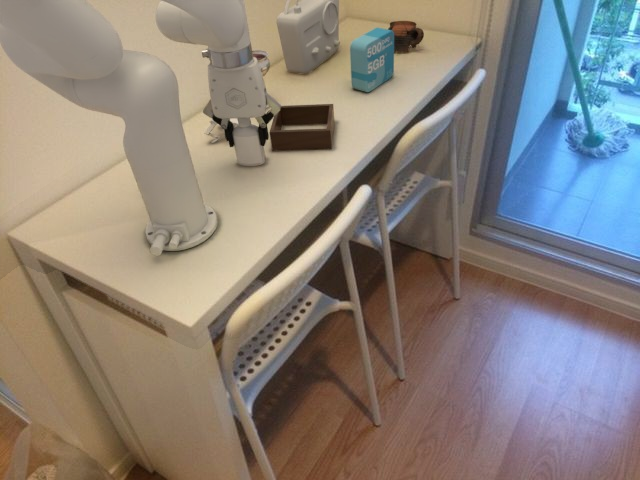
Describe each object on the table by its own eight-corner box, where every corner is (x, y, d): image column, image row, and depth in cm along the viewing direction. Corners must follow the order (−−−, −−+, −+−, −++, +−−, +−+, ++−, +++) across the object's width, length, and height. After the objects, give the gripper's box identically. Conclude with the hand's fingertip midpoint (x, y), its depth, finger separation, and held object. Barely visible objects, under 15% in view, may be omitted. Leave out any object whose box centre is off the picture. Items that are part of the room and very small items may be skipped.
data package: (366, 94, 129) (364, 45, 121) (351, 90, 131) (349, 41, 123) (394, 76, 135) (394, 28, 127) (379, 72, 138) (379, 25, 130)
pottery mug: (378, 52, 148) (380, 21, 147) (397, 57, 155) (400, 27, 154) (414, 49, 140) (416, 16, 139) (433, 54, 147) (436, 23, 146)
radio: (308, 80, 137) (297, -24, 121) (281, 75, 141) (267, -27, 125) (347, 48, 151) (342, -49, 135) (322, 45, 155) (314, -50, 138)
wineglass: (278, 107, 127) (271, 58, 119) (250, 113, 126) (242, 64, 118) (272, 95, 132) (265, 47, 124) (245, 101, 131) (236, 53, 123)
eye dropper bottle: (255, 170, 107) (245, 117, 99) (235, 163, 110) (223, 110, 102) (269, 160, 110) (260, 107, 102) (248, 153, 112) (238, 101, 104)
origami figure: (196, 140, 118) (191, 120, 115) (222, 123, 123) (218, 104, 120) (237, 153, 113) (232, 133, 109) (262, 135, 117) (258, 115, 114)
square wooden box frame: (331, 149, 111) (330, 130, 108) (272, 151, 112) (269, 132, 109) (334, 122, 120) (333, 103, 117) (279, 124, 121) (276, 105, 118)
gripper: (179, 65, 93) (202, 154, 105) (276, 61, 91) (288, 151, 103) (190, 49, 98) (211, 135, 110) (281, 44, 97) (292, 132, 109)
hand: (248, 142), depth 106 cm, fingers closed on eye dropper bottle, 5 cm apart
